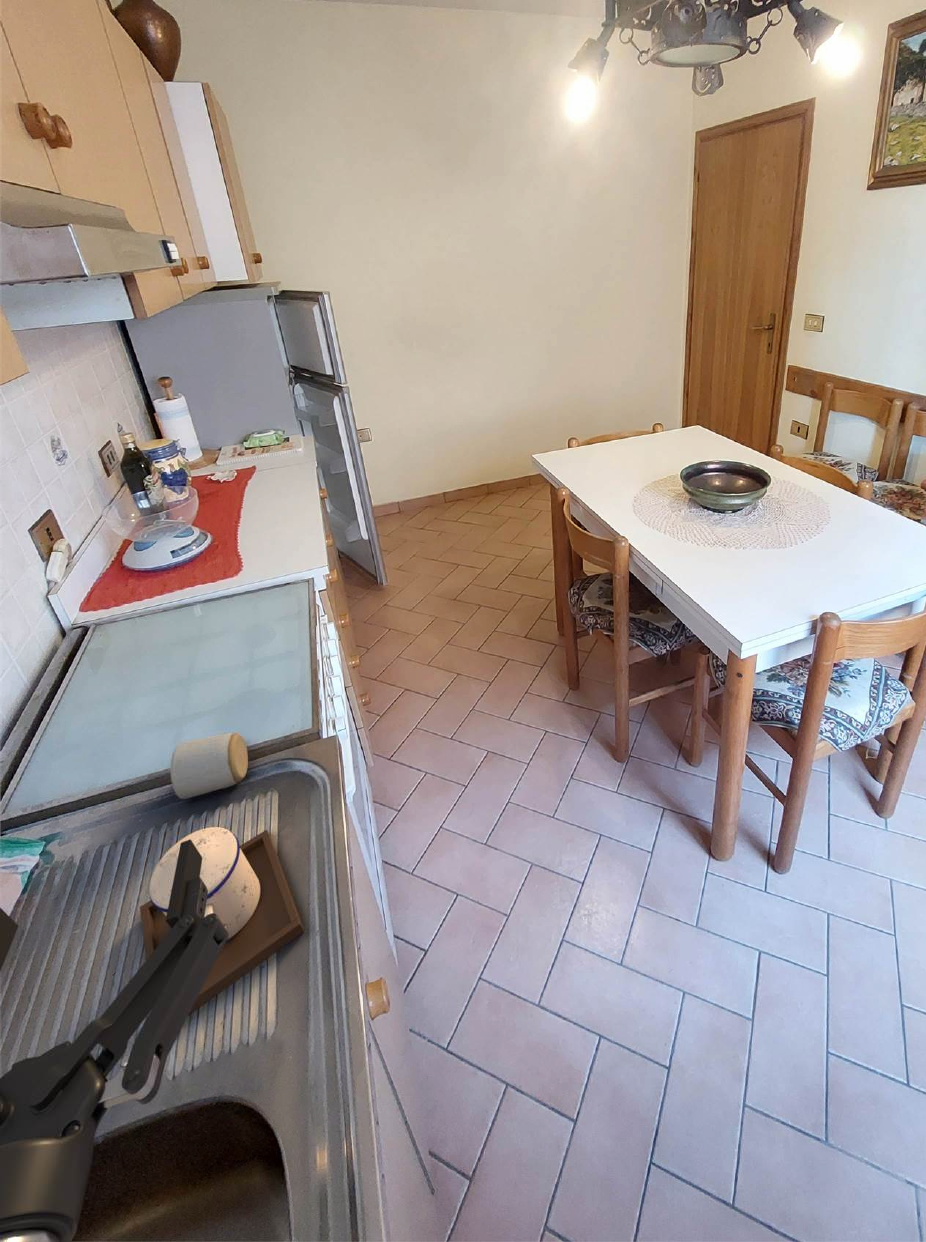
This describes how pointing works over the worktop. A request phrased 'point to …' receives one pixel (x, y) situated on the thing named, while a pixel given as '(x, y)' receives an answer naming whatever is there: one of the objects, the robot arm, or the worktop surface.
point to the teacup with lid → (213, 878)
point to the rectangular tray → (258, 936)
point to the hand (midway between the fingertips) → (101, 882)
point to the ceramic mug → (208, 764)
